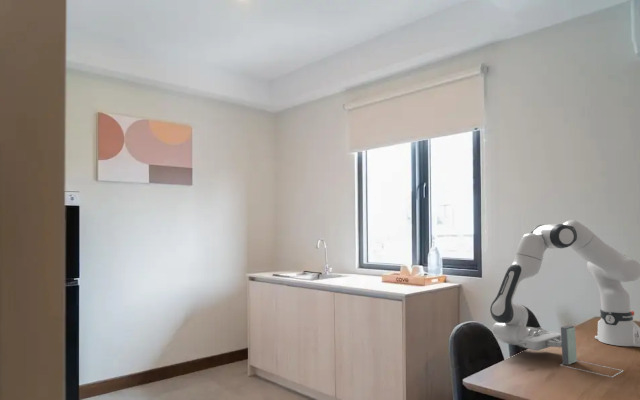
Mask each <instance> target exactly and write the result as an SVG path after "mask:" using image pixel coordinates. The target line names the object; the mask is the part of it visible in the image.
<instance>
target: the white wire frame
mask: <svg viewBox="0 0 640 400" xmlns="http://www.w3.org/2000/svg"><path fill="white" fill-rule="evenodd" d="M578 362H579V363H584V364H585V363H586V364H589V365H594V366H598V367H603V368H608V369H613V370H617V371H619V372H618V373H616V374H614V375H613V376H610V375H605V374H602V373H599V372H594V371H589V370H584V369H581V368H575V367H572V366H568V365H567V366H566V365H565V364H564V363H563V362H562V363H560V364H559V366H561V367H566V368H570V369H575V370H579V371H581V372H587V373H590V374H592V373H593V374H596V375H600V376H603V377H604V376H605V377H609V378H614V377H616V376H617V375H619V374H621V373H623V372H624V370H623V369H618V368H613V367H608V366H604V365H599V364H595V363H592V362H591V363H590V362H587V361H586V362H585V361H582V360H578Z"/></svg>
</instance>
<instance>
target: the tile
mask: <svg viewBox="0 0 640 400" xmlns="http://www.w3.org/2000/svg"><path fill="white" fill-rule="evenodd" d="M560 334H561V339H562V347H561V354H562V358H561V359H562V364H563V363H564V364H563V365H565V366H566V365H567V366H568V365H571V364H574V363H576V362H578V359H577V357H578V355H577V343H576V341H577V337H576V327H575V326H574V325H572V324H568V325H563V326H561V327H560Z"/></svg>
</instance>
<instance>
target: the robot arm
mask: <svg viewBox="0 0 640 400" xmlns="http://www.w3.org/2000/svg"><path fill="white" fill-rule="evenodd" d="M569 247H570V248H571V249H572V250H573V251H575V252H576V253H577V254H578V255H579V256H580V257H581V258H583V260H585V261H587V263H586V269H587V271H588V272H589V274H590V275H591V276H592V277H593V279H594V281H595V283H596V285H597V288H598V290H599V297H600V311H599V315H600V319H599V320H598V321H597V335H594V339H595V340H598V341H599V342H601V343H603V344H608V345H611V346H612V345H613V346H619V347H639V348H640V326H639V325H638V324H637V323H636V322H635V321H634V316H635V312H634V310H631V301H630V300H631V299H630V294H629V292H628V291H627V290H625V288H624V287H623V284H622V283H621V282H623V283H624V282H625V283H627V282H634V281H637V280H638V279H640V263H639V262H638V261H637V260H636V259H633V258H631V257H628V256H626V255H625V254H623V253H622V252H621V251H618V250H616V249H615V248H613V247H611V246H610V245H609V244H607V243H605V242H604V241H603V240H602V239H600V238H599V237H598V236H597V235H596V234H595V233H594V232H593V231H592V230H591V229H589V228H588V227H587V226H585V225H584V224H582V223H581V222H579V221H577V220H576V219H569V220H566V221H564V222H563V223H559V224H558V223H549V224H548V223H547V224H539V225H536V226H535V227H533V228H532V230H531V231H530V232H529V233H528V232H527V233H525V234H524V235H522V237H521V239H520V241H519V243H518V246H517V248H516V251H515V255H514V258H513V261H512V263H511V265H510V266H509V267H508V268H507V270H506V272H505V275H504V276H503V277H504V278H503V279H502V282H501V285H500V287H499V290H498V292H497V295H496V296H495V298H494V299H493V301H492V302H491V305H490V311H489V312H490V316H491V318H492V319H493V320H494V321H495V323H494V324H493V325H492V334H493V337H495V339H496V340H498V341H499V342H502V343H505V344H507V345H512V346H518V347H520V348H524V349H528V350H531V351H541V350H543V349H547V348H550V347H551V348H552V347H553V348H562V339H561V332H557V331H553V330H549V329H548V330H547V329H544V328H543V327H541V326H539V327H532V326H527V324H528V321H529V310H528V309H527V307H525V305H523V304H521V303H520V304H519V303H517V302H513V299H514V297H515V294H516V290H517V288H518V286H519V284H520V282H521V281H523V280H526V279H529V278H532V277H534V276H537V274H539V271H540V269H541V267H542V263H543V260H544V254H545V252H546V250H547V249H566V248H569Z"/></svg>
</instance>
